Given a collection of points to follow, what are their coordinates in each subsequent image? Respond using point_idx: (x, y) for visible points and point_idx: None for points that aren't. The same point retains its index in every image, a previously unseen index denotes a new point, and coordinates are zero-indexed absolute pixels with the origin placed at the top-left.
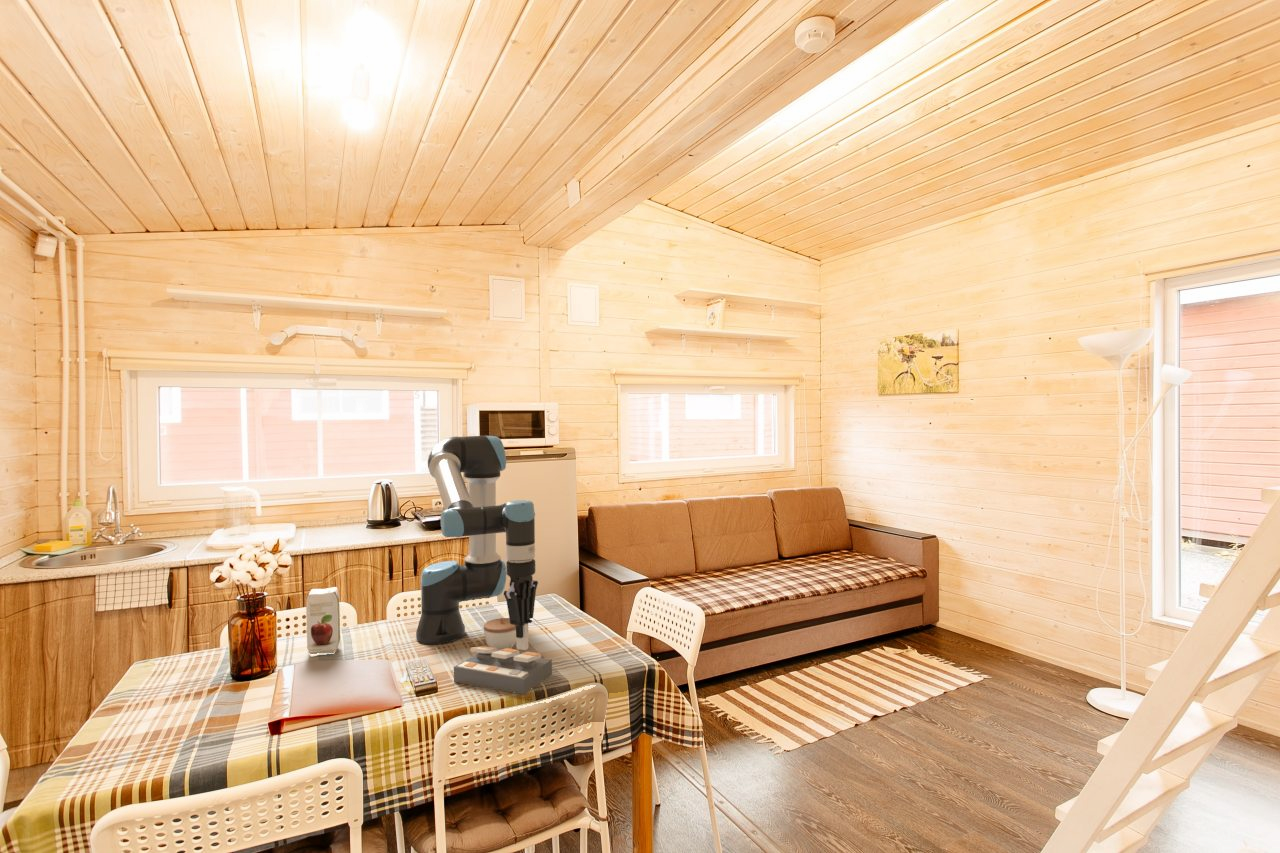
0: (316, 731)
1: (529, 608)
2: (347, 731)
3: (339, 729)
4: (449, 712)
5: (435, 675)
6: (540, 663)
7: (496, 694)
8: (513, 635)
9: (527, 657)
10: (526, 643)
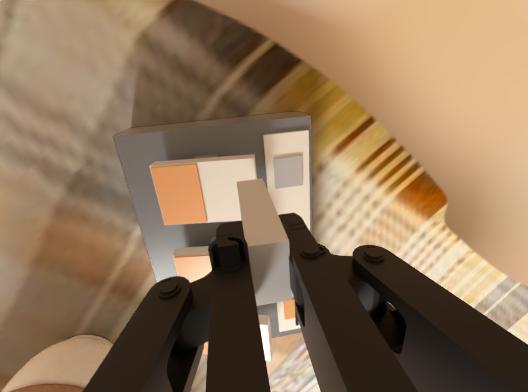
0: (515, 323)
1: (208, 360)
2: (513, 292)
3: (508, 305)
4: (427, 207)
5: (292, 347)
6: (171, 150)
7: (321, 180)
8: (58, 365)
9: (238, 171)
10: (254, 190)
